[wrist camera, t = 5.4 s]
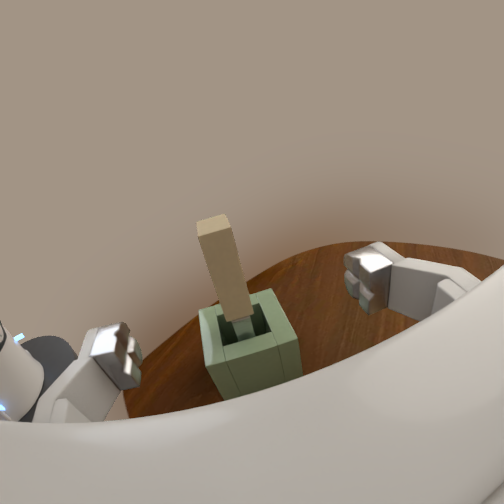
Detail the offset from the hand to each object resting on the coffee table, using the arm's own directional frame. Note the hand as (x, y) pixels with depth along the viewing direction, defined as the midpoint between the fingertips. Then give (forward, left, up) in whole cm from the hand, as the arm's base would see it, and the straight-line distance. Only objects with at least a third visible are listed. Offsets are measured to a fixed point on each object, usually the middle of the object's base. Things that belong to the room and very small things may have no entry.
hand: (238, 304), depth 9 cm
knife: (+2, +12, -17) cm, 21 cm away
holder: (+2, +12, -17) cm, 21 cm away
